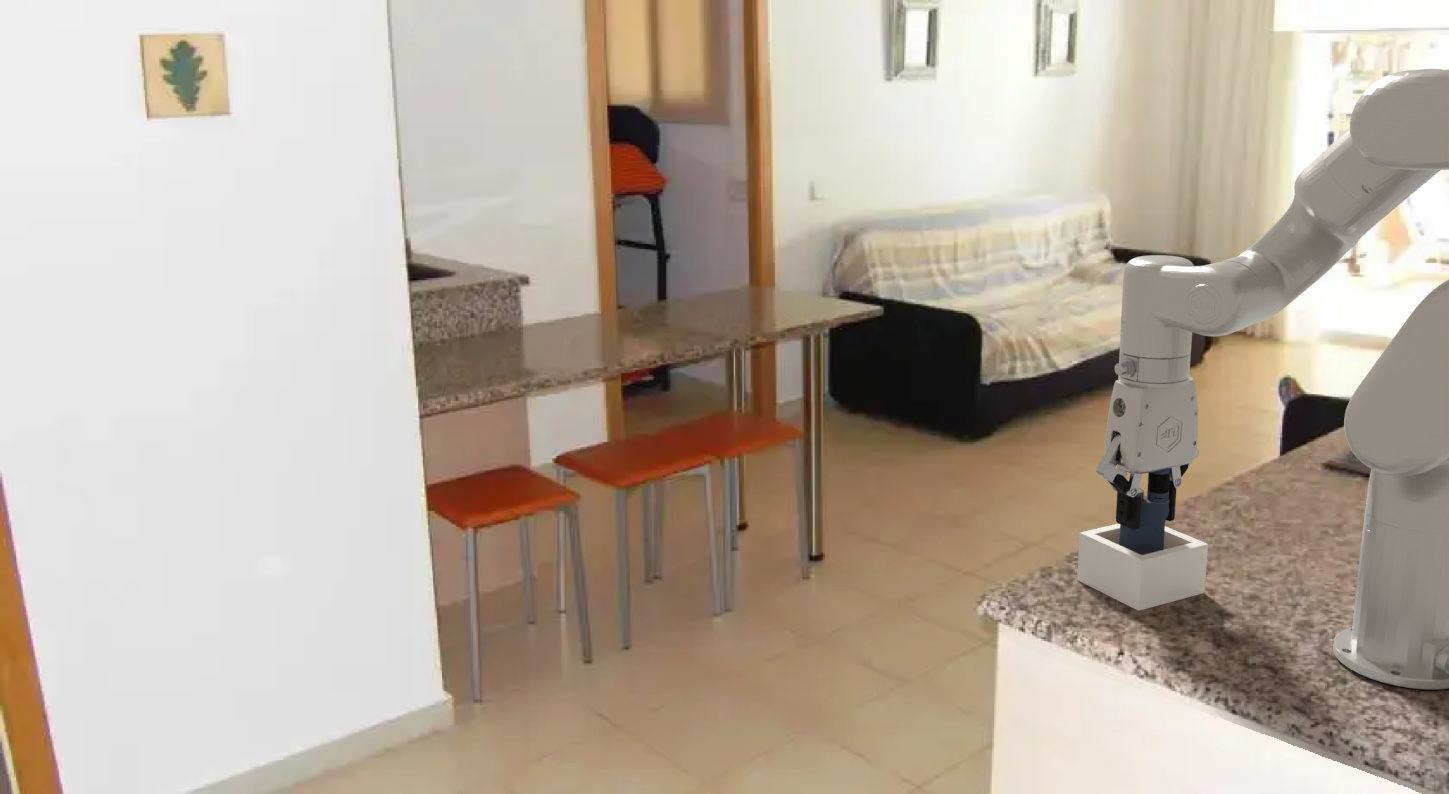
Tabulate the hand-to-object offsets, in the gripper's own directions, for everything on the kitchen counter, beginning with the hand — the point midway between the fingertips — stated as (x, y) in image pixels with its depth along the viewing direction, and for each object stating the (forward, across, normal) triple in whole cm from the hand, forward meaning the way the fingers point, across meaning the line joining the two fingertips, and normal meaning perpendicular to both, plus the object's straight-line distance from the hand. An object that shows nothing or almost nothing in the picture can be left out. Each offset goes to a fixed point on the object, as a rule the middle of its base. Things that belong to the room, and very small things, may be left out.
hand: (1145, 520), depth 145 cm
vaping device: (+5, 0, 0) cm, 5 cm away
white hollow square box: (+8, 0, 0) cm, 8 cm away
